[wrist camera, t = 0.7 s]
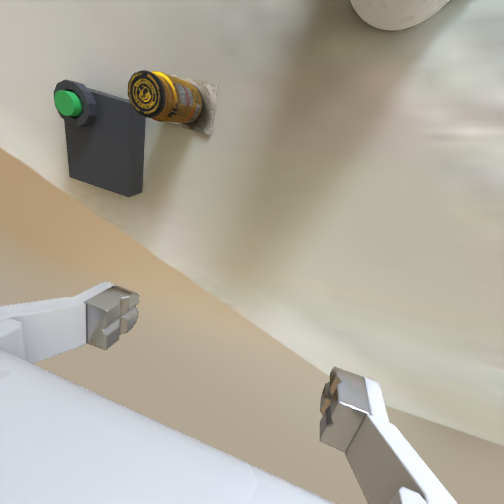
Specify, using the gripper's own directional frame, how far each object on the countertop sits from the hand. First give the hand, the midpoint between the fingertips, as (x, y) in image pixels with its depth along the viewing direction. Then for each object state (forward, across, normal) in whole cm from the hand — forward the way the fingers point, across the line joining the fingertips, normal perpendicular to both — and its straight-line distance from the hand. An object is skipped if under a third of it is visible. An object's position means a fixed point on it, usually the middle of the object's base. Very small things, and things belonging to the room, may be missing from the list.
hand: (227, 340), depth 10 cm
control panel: (+37, +38, -3) cm, 53 cm away
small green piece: (+31, +41, -7) cm, 51 cm away
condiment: (+37, +23, -12) cm, 45 cm away
